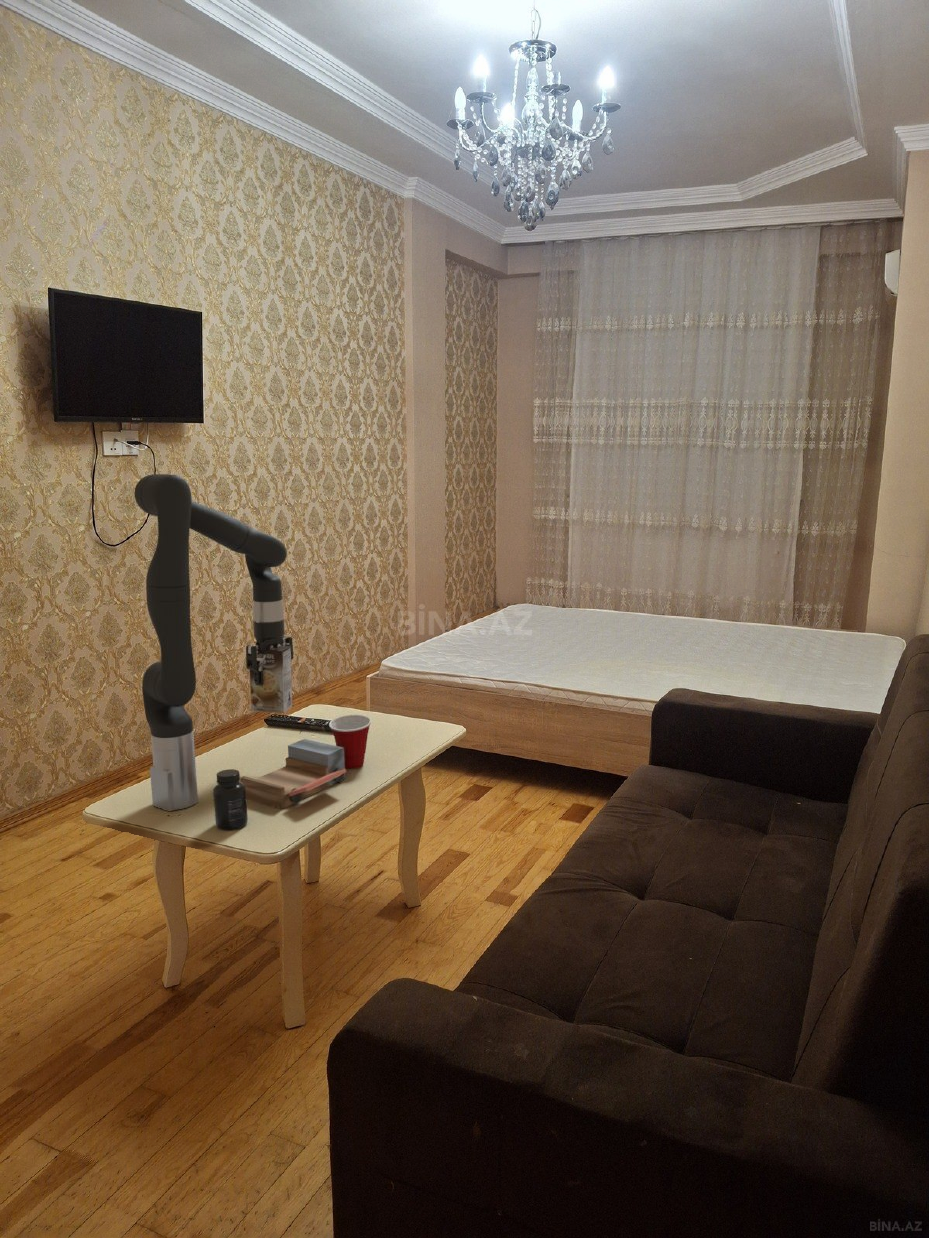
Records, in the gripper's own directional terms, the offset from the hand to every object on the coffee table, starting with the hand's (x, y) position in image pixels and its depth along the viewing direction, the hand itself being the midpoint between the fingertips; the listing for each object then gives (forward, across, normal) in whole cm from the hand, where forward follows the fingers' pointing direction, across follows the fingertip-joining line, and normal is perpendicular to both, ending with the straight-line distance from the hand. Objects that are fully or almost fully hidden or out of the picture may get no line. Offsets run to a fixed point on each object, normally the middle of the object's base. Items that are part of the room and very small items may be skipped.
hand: (271, 681), depth 226 cm
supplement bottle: (+23, +31, +17) cm, 42 cm away
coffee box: (+7, 0, 0) cm, 7 cm away
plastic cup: (+23, -11, +16) cm, 30 cm away
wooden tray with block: (+23, +8, +15) cm, 28 cm away
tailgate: (+20, +11, +22) cm, 31 cm away
